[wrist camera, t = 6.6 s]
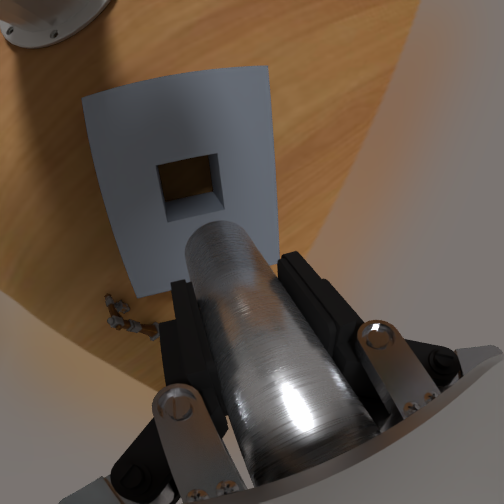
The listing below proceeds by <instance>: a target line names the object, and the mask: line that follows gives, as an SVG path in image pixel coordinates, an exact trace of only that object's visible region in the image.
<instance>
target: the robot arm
mask: <svg viewBox="0 0 504 504" xmlns="http://www.w3.org/2000/svg"><path fill="white" fill-rule="evenodd" d="M110 1H111V0H0V29H1V33H2V34H3V36H4V37H5V39H6V40H8V41H9V42H10V43H11V44H14V45H16V46H19V47H23V48H28V49H31V48H42V47H47V46H51V45H53V44H56V43H59V42H61V41H63V40H65V39H67V38H69V37H71V36H73V35H74V34H76V33H77V32H79V31H80V30H82V29H83V28H85V27H86V26H87V25H88V24H89V23H91V22H92V21H93V20H94V19H95V18H96V17H97V16H98V15H99V14H100V13H101V12H102V11H103V10H104V9H105V7H106V6H107V5H108V3H109V2H110ZM56 34H58V35H57V37H55V35H56ZM277 267H278V279H279V281H280V282H281V284H282V285H283V287H284V288H285V290H286V291H287V293H288V294H289V296H290V297H291V299H292V300H293V302H294V303H295V304H296V306H297V307H298V309H299V310H300V312H301V313H302V315H303V316H304V318H305V319H306V321H307V322H308V324H309V325H310V327H311V328H312V330H313V331H314V333H315V334H316V336H317V337H318V339H319V340H320V342H321V343H322V345H323V346H324V348H325V349H326V351H327V352H328V354H329V355H330V357H331V358H332V360H333V361H334V363H335V364H336V366H337V367H338V369H339V370H340V372H341V373H342V375H343V376H344V378H345V379H346V381H347V382H348V384H349V385H350V387H351V388H352V390H353V391H354V393H355V394H356V396H357V397H358V399H359V400H360V402H361V403H362V405H363V406H364V408H365V409H366V411H367V412H368V414H369V415H370V417H371V418H372V420H373V421H374V423H375V424H376V426H377V427H378V429H379V430H380V432H381V434H380V435H378V436H376V437H374V438H373V439H371V440H369V441H367V442H365V443H363V444H361V445H360V446H358V447H356V448H354V449H352V450H350V451H348V452H346V453H344V454H341V455H339V456H337V457H335V458H333V459H331V460H329V461H326V462H324V463H322V464H319V465H317V466H315V467H312V468H310V469H307V470H305V471H302V472H300V473H297V474H294V475H292V476H289V477H286V478H283V479H280V480H277V481H274V482H271V483H268V484H265V485H262V486H258V487H255V488H252V489H247V487H246V485H245V483H244V481H243V480H242V478H241V476H240V474H239V472H238V470H237V468H236V466H235V464H234V462H233V460H232V458H231V456H230V454H229V452H228V450H227V448H226V446H225V444H224V442H223V439H222V438H223V436H224V435H225V433H226V432H227V430H228V425H227V420H226V417H225V416H227V415H228V413H227V410H226V407H225V404H224V401H223V398H222V394H221V390H222V386H221V383H220V380H219V377H218V373H217V370H216V367H215V364H214V360H213V357H212V353H211V350H210V347H209V343H208V340H207V336H206V333H205V329H204V325H203V322H202V318H201V314H200V311H199V307H198V303H197V299H196V295H195V292H194V288H193V284H192V282H188V283H186V280H185V279H183V280H179V281H174V282H171V283H170V284H171V292H172V298H173V305H174V311H175V318H176V319H175V320H171V321H166V322H162V323H159V336H160V345H161V353H162V361H163V368H164V375H165V382H166V387H164V388H163V389H161V390H160V391H159V392H158V393H157V395H156V396H155V397H154V399H153V403H152V412H153V416H154V417H153V419H152V420H151V421H150V422H149V424H148V425H147V426H146V427H145V428H144V430H143V431H142V432H141V433H140V435H139V436H138V437H137V438H136V440H134V442H133V443H132V444H131V445H130V446H129V448H128V449H127V450H126V451H125V453H124V454H123V455H122V456H121V457H120V459H119V460H118V461H117V462H116V463H115V464H114V466H113V468H112V470H111V474H110V475H108V476H107V477H105V478H104V477H102V476H101V477H100V478H98V479H96V480H95V481H93V482H91V483H90V484H88V485H86V486H85V487H83V488H81V489H80V490H78V491H76V492H75V493H73V494H71V495H69V496H67V497H65V498H63V499H62V500H61V501H60V502H59V504H176V502H177V501H178V500H179V498H182V501H183V504H504V354H503V352H502V351H501V350H500V349H499V348H498V347H496V346H492V345H488V346H480V347H472V348H462V349H456V350H455V351H454V352H453V351H452V350H450V349H449V348H446V347H443V346H438V345H432V344H427V343H422V342H417V341H412V340H407V339H404V338H403V337H402V336H401V334H400V333H399V332H398V330H397V329H396V328H395V327H394V326H393V325H392V324H390V323H388V322H385V321H382V320H371V321H368V322H366V323H364V322H363V320H362V319H361V318H360V317H359V316H358V315H357V313H356V312H355V311H354V310H353V309H352V308H351V306H350V305H349V304H348V303H347V302H346V301H345V300H344V298H343V297H342V296H341V295H340V294H339V293H338V291H336V289H335V288H334V287H333V286H332V285H331V284H330V282H329V281H328V280H326V279H321V278H320V277H319V275H318V274H317V273H316V272H315V271H314V270H313V268H312V267H311V266H310V265H309V264H308V263H307V262H306V260H305V259H304V258H303V257H302V256H301V255H300V254H299V253H298V252H297V251H294V252H291V253H287V254H283V255H282V256H281V259H279V260H278V261H277Z"/></svg>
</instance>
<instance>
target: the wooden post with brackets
mask: <svg viewBox="0 0 504 504" xmlns="http://www.w3.org/2000/svg"><path fill="white" fill-rule="evenodd" d="M104 297H105V300H106V301H105V302H106V305H107V307H108V309H109V312H110V315H111V317H110V318H108V319H107V322H108V323H109V324H110V326H111V327H114V328H116V330H121V329H122V328H124V329H126V330H127V331H130V332H136V333H137V332H141V333H143V334H146V335H148V336H149V337H150V339H151V340H152V341H154V340H155V339H157V338H158V337H159V324H158V323H157V322H154V323H153V324H152V325H146V324H140V322H136V321H134V320H130V319H129V320H124V319H123V318H122V316H121V315H120V314H119V313H118V312H119V311H121V312H123V313H124V314H125V313H126V312H128V311H129V310H130V308H129V307H128V305H127V304H126V303H122V301H121V300H120V301H119V302H118V303H117V302H116V303H114V301H113V299H112V297H111V295H110V294H108V293H107V294H106V295H105V296H104ZM115 308H116V309H117V310H116V309H115Z"/></svg>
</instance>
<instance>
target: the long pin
mask: <svg viewBox="0 0 504 504" xmlns="http://www.w3.org/2000/svg"><path fill="white" fill-rule="evenodd" d="M185 261H186V265H187V269H188V274H189V278H190V282H192V284H193V288H194V292H195V295H196V299H197V303H198V307H199V311H200V314H201V318H202V322H203V325H204V329H205V333H206V336H207V340H208V343H209V347H210V350H211V353H212V357H213V360H214V364H215V367H216V370H217V373H218V377H219V380H220V383H221V386H222V390H221V394H222V398H223V401H224V404H225V407H226V410H227V413H228V416H229V419H230V422H231V425H232V428H233V431H234V434H235V437H236V440H237V442H238V445H239V448H240V451H241V454H242V456H243V459H244V461H245V464H246V467H247V470H248V472H249V475H250V478H251V480H252V483H253V485H254V488H255V487H258V486H262V485H265V484H268V483H271V482H274V481H277V480H280V479H283V478H286V477H289V476H292V475H294V474H297V473H300V472H302V471H305V470H307V469H310V468H312V467H315V466H317V465H319V464H322V463H324V462H326V461H329V460H331V459H333V458H335V457H337V456H339V455H341V454H344V453H346V452H348V451H350V450H352V449H354V448H356V447H358V446H360V445H361V444H363V443H365V442H367V441H369V440H371V439H373V438H374V437H376V436H378V435H380V434H381V432H380V430H379V429H378V427H377V426H376V424H375V423H374V421H373V420H372V418H371V417H370V415H369V414H368V412H367V411H366V409H365V408H364V406H363V405H362V403H361V402H360V400H359V399H358V397H357V396H356V394H355V393H354V391H353V390H352V388H351V387H350V385H349V384H348V382H347V381H346V379H345V378H344V376H343V375H342V373H341V372H340V370H339V369H338V367H337V366H336V364H335V363H334V361H333V360H332V358H331V357H330V355H329V354H328V352H327V351H326V349H325V348H324V346H323V345H322V343H321V342H320V340H319V339H318V337H317V336H316V334H315V333H314V331H313V330H312V328H311V327H310V325H309V324H308V322H307V321H306V319H305V318H304V316H303V315H302V313H301V312H300V310H299V309H298V307H297V306H296V304H295V303H294V302H293V300H292V299H291V297H290V296H289V294H288V293H287V291H286V290H285V288H284V287H283V285H282V284H281V282H280V281H279V279H278V278H277V276H276V275H275V273H274V272H273V270H272V269H271V268H270V266H269V265H268V263H267V262H266V260H265V259H264V257H263V256H262V254H261V253H260V251H259V250H258V248H257V247H256V245H255V244H254V243H253V241H252V240H251V238H250V237H249V235H248V234H247V232H246V231H245V230H244V229H243V228H242V227H241V226H239V225H238V224H236V223H233V222H230V221H224V220H220V221H213V222H209V223H207V224H204V225H203V226H201V227H200V228H198V229H197V230H196V231H195V232H194V233H193V234H192V235H191V236H190V238H189V239H188V242H187V244H186V247H185Z"/></svg>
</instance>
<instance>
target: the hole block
mask: <svg viewBox="0 0 504 504" xmlns="http://www.w3.org/2000/svg"><path fill="white" fill-rule="evenodd" d="M81 99H82V105H83V111H84V117H85V123H86V128H87V134H88V139H89V144H90V148H91V153H92V157H93V162H94V166H95V170H96V174H97V178H98V182H99V186H100V190H101V193H102V197H103V200H104V204H105V207H106V211H107V214H108V218H109V221H110V224H111V227H112V230H113V233H114V236H115V240H116V243H117V245H118V248H119V251H120V254H121V257H122V260H123V263H124V265H125V268H126V271H127V273H128V276H129V279H130V281H131V284H132V286H133V289H134V291H135V294H136V296H137V298H141V297H145V296H149V295H153V294H158V293H162V292H166V291H170V290H171V284H170V283H171V282H174V281H179V280H183V279H185V280H186V283H188V282H190V278H189V274H188V269H187V265H186V261H185V247H186V244H187V242H188V239H189V238H190V236H191V235H192V234H193V233H194V232H195V231H196V230H197V229H198V228H200V227H201V226H203V225H204V224H207V223H209V222H213V221H220V220H224V221H230V222H233V223H236V224H238V225H239V226H241V227H242V228H243V229H244V230H245V231H246V232H247V234H248V235H249V237H250V238H251V240H252V241H253V243H254V244H255V245H256V247H257V248H258V250H259V251H260V253H261V254H262V256H263V257H264V259H265V260H266V262H267V263H268V265H273V264H277V261H278V260H279V259H280V256H279V231H278V209H277V190H276V172H275V155H274V139H273V125H272V111H271V98H270V85H269V73H268V66H246V67H232V68H220V69H211V70H202V71H195V72H188V73H181V74H175V75H169V76H164V77H159V78H154V79H149V80H144V81H140V82H136V83H131V84H127V85H123V86H120V87H116V88H112V89H109V90H105V91H102V92H98V93H95V94H92V95H89V96H86V97H83V98H81ZM204 155H208V157H209V164H210V171H211V179H212V186H213V192H208V193H203V194H199V195H194V196H189V197H185V198H180V199H176V200H172V201H167V202H165V199H164V194H163V190H162V185H161V180H160V175H159V170H158V165H161V164H165V163H169V162H174V161H179V160H184V159H188V158H193V157H199V156H204Z"/></svg>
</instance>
